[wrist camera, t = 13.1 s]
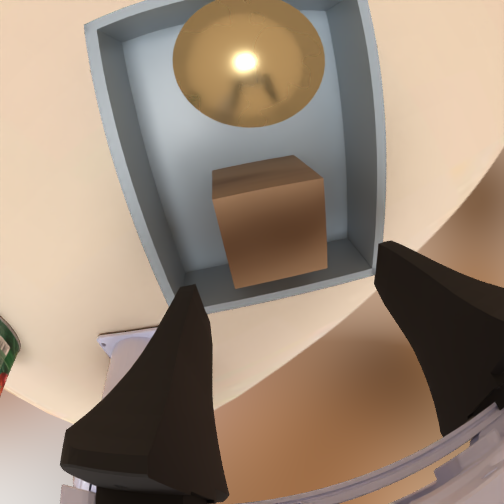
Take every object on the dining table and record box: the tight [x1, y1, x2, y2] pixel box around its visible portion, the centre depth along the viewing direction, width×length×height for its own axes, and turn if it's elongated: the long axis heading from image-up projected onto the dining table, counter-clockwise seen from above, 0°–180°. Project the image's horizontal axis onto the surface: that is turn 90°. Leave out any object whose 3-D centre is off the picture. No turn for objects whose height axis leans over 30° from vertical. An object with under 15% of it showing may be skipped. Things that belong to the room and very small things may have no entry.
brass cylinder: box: [173, 0, 325, 128], centre depth 10 cm, size 5×5×7 cm
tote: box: [84, 0, 386, 314], centre depth 14 cm, size 17×13×5 cm
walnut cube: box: [212, 155, 327, 289], centre depth 15 cm, size 5×5×5 cm
